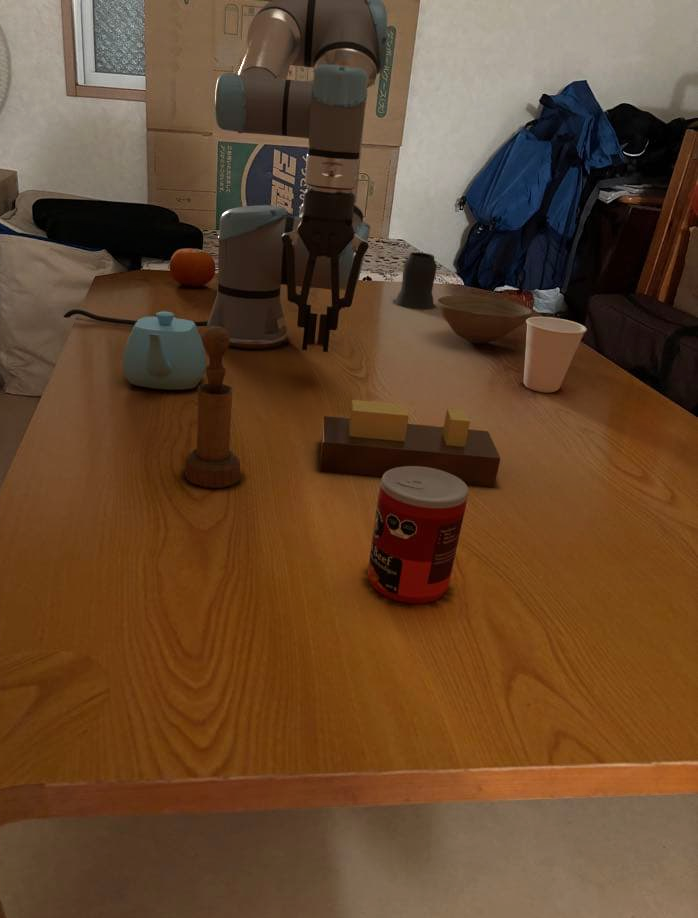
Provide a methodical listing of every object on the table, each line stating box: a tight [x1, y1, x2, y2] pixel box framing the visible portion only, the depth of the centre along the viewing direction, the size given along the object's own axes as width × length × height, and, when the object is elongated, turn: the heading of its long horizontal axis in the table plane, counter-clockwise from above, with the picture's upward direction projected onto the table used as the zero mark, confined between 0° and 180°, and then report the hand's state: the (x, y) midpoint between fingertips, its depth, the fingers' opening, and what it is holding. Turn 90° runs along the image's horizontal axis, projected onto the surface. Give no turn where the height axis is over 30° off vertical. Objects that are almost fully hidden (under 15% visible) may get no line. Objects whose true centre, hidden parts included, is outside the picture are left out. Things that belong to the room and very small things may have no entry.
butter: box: [349, 399, 410, 441], centre depth 98 cm, size 7×4×4 cm, turn 87°
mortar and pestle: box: [184, 327, 241, 489], centre depth 89 cm, size 7×6×18 cm
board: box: [319, 415, 501, 488], centre depth 100 cm, size 22×9×4 cm, turn 87°
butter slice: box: [443, 408, 471, 447], centre depth 98 cm, size 2×4×4 cm, turn 177°
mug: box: [395, 251, 438, 310], centre depth 183 cm, size 12×9×11 cm
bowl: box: [436, 294, 533, 344], centre depth 156 cm, size 18×18×8 cm
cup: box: [522, 316, 588, 393], centre depth 132 cm, size 10×10×11 cm
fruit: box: [169, 247, 216, 287], centre depth 181 cm, size 11×10×8 cm
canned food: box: [367, 466, 469, 604], centre depth 73 cm, size 8×8×11 cm
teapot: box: [122, 310, 207, 391], centre depth 119 cm, size 13×11×18 cm
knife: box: [307, 312, 327, 348], centre depth 118 cm, size 19×3×5 cm, turn 177°
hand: (315, 348), depth 124 cm, fingers closed on knife, 3 cm apart
